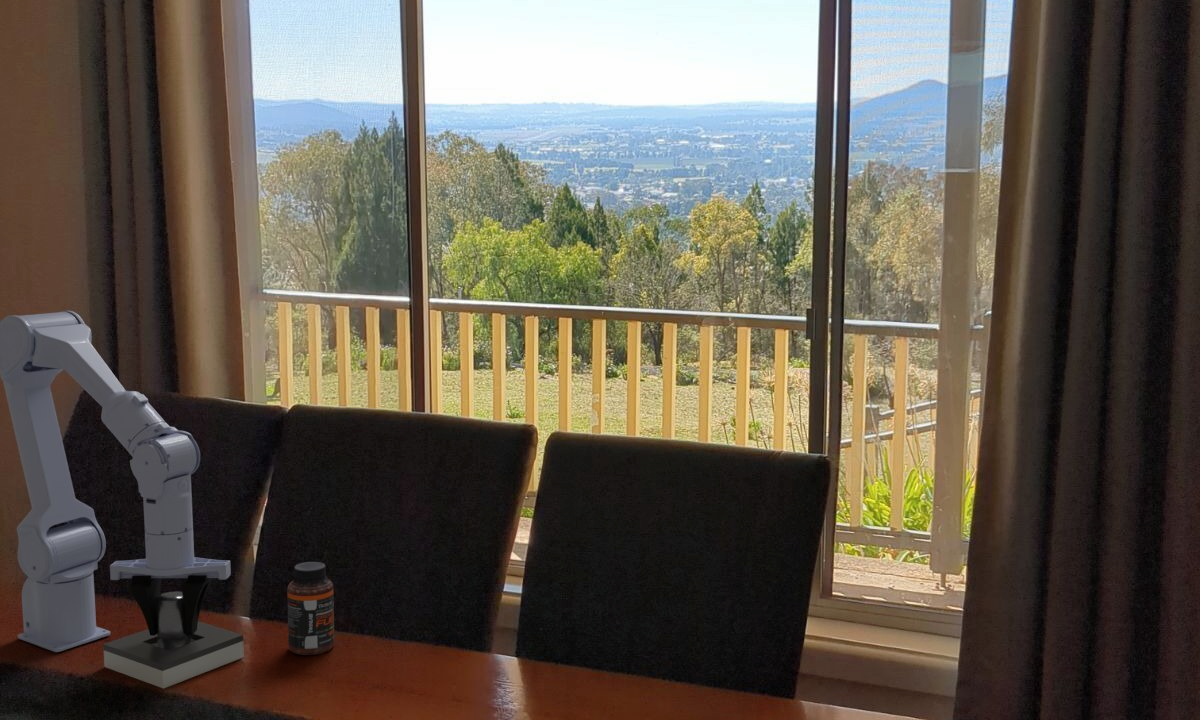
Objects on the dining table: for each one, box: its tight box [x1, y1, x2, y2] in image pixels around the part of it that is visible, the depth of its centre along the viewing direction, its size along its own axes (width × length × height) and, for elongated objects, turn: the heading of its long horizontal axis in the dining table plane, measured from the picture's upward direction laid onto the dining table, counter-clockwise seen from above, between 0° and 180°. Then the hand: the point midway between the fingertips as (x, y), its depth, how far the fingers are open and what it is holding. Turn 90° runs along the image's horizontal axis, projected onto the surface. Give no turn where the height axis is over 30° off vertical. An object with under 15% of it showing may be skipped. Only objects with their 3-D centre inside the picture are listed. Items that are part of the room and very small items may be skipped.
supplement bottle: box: [286, 561, 335, 656], centre depth 151 cm, size 6×6×11 cm
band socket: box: [102, 620, 245, 689], centre depth 147 cm, size 12×12×3 cm
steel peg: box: [156, 591, 191, 650], centre depth 147 cm, size 4×4×8 cm
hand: (173, 632), depth 147 cm, fingers closed on steel peg, 4 cm apart
